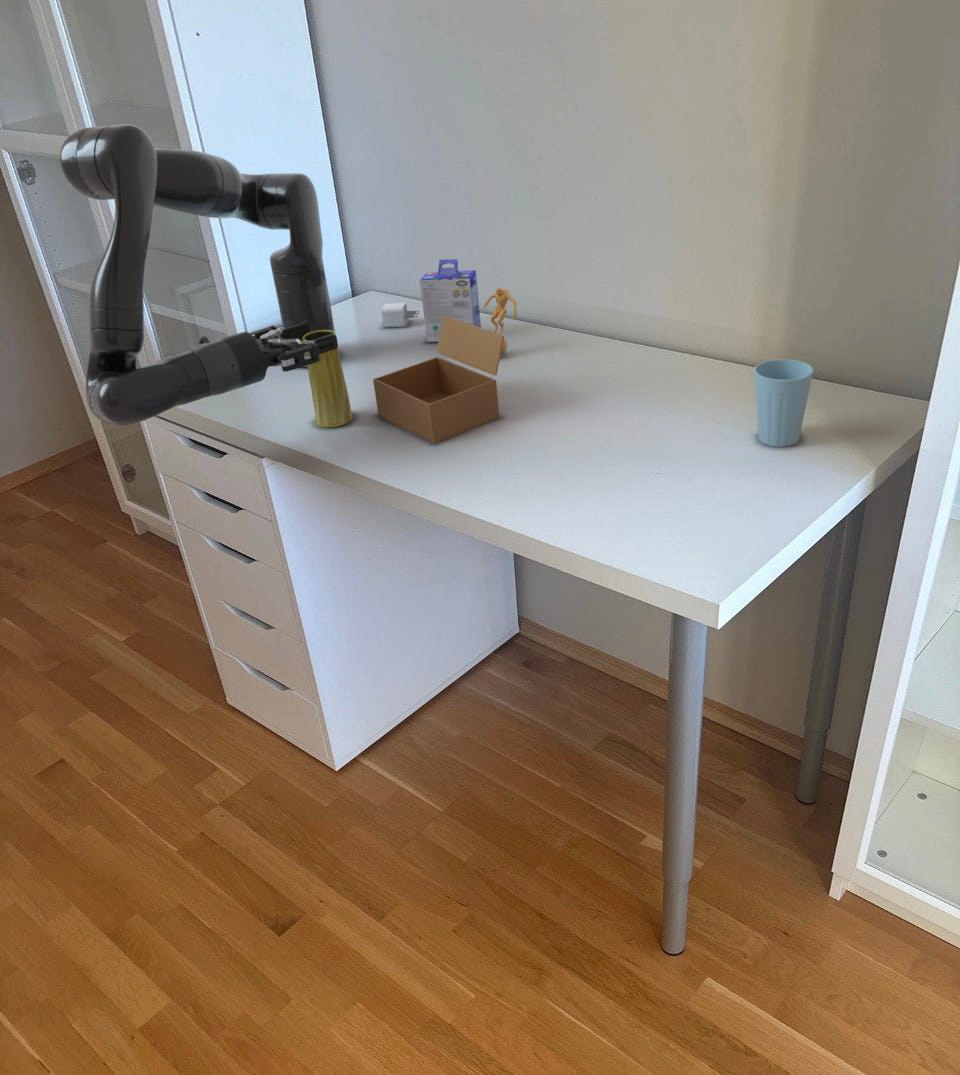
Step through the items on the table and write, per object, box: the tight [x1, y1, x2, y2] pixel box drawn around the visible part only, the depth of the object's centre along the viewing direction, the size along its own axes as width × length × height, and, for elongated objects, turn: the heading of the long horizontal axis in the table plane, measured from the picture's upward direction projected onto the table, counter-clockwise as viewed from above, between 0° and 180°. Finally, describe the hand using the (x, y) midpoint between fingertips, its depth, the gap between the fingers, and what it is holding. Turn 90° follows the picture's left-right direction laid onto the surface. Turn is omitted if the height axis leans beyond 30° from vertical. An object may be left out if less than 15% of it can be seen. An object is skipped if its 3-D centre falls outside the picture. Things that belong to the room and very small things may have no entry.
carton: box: [372, 356, 500, 445], centre depth 156 cm, size 16×13×6 cm
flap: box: [436, 316, 505, 377], centre depth 156 cm, size 16×6×1 cm
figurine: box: [481, 287, 517, 357], centre depth 176 cm, size 8×6×12 cm
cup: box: [753, 358, 814, 448], centre depth 137 cm, size 8×8×10 cm
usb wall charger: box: [381, 302, 420, 329], centre depth 198 cm, size 4×7×4 cm, turn 84°
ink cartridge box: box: [419, 258, 482, 343], centre depth 185 cm, size 10×6×14 cm, turn 79°
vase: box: [303, 330, 354, 428], centre depth 156 cm, size 6×6×14 cm
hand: (322, 334), depth 153 cm, fingers open, 8 cm apart
